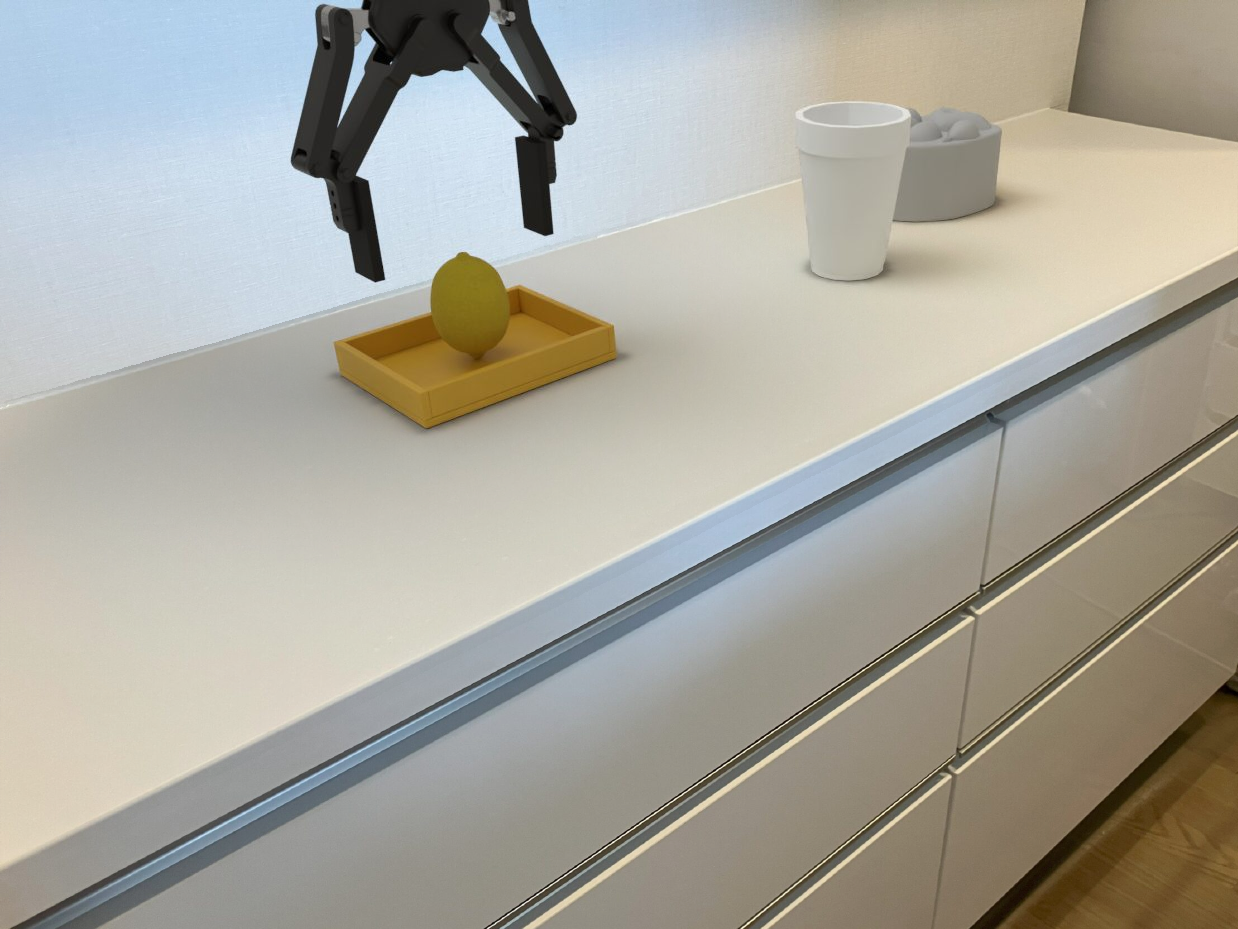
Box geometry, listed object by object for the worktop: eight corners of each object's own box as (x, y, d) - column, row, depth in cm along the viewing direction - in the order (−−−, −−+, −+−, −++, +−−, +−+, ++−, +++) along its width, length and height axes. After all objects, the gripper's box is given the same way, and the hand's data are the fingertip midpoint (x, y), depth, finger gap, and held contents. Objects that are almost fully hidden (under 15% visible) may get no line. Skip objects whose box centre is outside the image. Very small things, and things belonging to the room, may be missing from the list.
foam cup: (808, 291, 96) (811, 131, 89) (781, 255, 104) (782, 105, 97) (916, 280, 97) (927, 122, 90) (881, 246, 105) (890, 98, 98)
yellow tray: (426, 429, 76) (419, 393, 75) (340, 374, 84) (332, 341, 83) (616, 358, 85) (614, 325, 84) (523, 315, 93) (519, 284, 92)
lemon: (486, 337, 88) (471, 234, 83) (530, 356, 84) (518, 250, 80) (424, 359, 84) (406, 254, 80) (468, 380, 81) (452, 271, 77)
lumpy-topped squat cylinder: (1008, 201, 116) (1018, 112, 111) (920, 229, 109) (927, 135, 104) (930, 181, 122) (937, 96, 118) (843, 206, 116) (847, 117, 111)
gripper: (236, -75, 59) (316, 313, 71) (615, -102, 73) (631, 225, 85) (180, -84, 64) (264, 282, 75) (546, -108, 78) (570, 203, 89)
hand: (458, 253), depth 80 cm, fingers open, 13 cm apart
